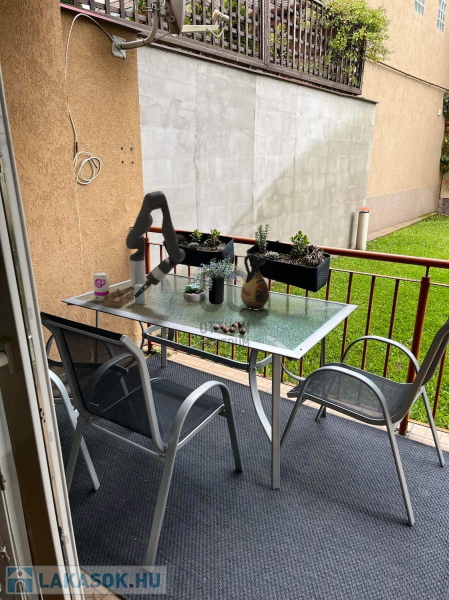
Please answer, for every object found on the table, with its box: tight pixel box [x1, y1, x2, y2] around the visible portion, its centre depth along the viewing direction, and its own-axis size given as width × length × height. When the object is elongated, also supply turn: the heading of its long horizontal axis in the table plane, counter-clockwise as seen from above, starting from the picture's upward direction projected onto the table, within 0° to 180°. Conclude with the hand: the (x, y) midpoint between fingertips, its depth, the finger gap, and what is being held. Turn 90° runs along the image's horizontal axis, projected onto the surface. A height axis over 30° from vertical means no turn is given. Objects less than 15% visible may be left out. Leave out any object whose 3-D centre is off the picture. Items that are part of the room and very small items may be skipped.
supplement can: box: [92, 271, 110, 302], centre depth 252 cm, size 8×8×15 cm
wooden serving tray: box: [103, 288, 135, 308], centre depth 249 cm, size 16×10×5 cm, turn 165°
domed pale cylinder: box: [134, 284, 146, 305], centre depth 248 cm, size 6×6×10 cm
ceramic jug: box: [240, 253, 270, 309], centre depth 239 cm, size 17×15×30 cm
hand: (137, 294), depth 249 cm, fingers open, 7 cm apart
